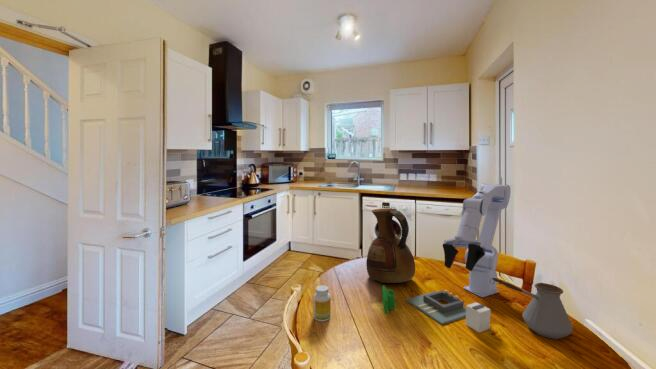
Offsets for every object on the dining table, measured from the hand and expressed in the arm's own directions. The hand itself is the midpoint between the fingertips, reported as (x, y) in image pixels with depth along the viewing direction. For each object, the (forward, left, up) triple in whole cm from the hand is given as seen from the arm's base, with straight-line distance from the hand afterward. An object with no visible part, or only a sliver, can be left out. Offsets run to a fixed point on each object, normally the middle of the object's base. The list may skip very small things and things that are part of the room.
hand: (457, 268), depth 86 cm
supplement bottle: (+39, -18, -16) cm, 45 cm away
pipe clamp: (+15, -15, -16) cm, 27 cm away
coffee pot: (-14, +14, -16) cm, 25 cm away
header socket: (+1, -7, -16) cm, 17 cm away
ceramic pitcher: (+2, -32, -16) cm, 35 cm away
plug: (-1, +6, -16) cm, 17 cm away
